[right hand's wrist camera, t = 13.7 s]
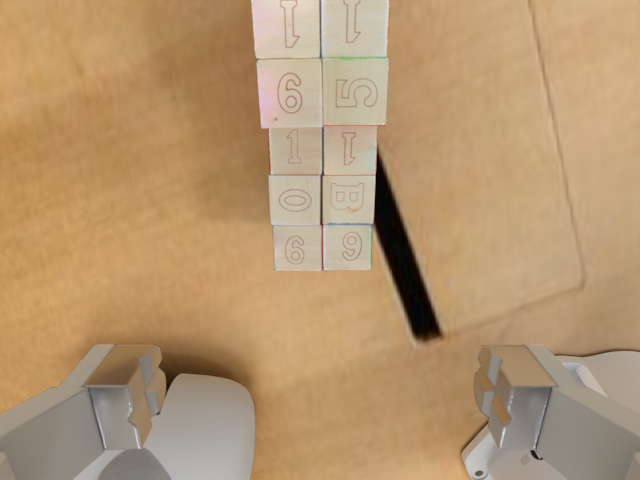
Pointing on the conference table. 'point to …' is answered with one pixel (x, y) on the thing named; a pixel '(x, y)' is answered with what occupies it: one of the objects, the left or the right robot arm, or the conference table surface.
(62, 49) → the conference table surface
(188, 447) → the grey plastic rounded block
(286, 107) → the stack of blocks
